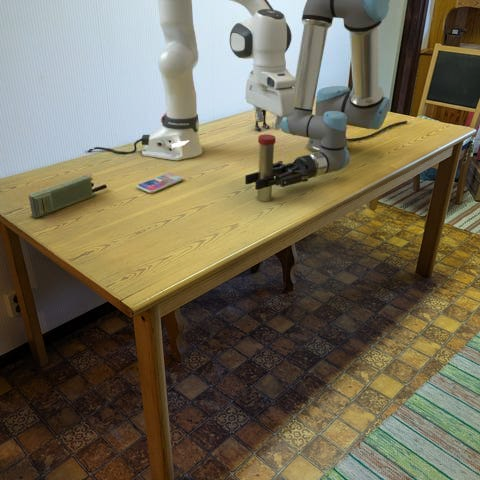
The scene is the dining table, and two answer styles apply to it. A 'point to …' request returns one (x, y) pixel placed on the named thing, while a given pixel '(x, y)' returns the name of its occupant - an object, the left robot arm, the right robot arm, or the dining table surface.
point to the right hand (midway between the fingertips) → (251, 182)
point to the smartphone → (159, 182)
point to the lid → (266, 139)
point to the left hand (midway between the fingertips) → (267, 125)
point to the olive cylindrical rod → (265, 170)
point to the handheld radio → (62, 195)
